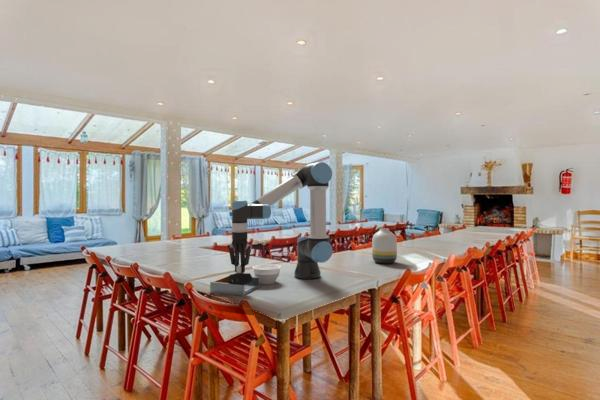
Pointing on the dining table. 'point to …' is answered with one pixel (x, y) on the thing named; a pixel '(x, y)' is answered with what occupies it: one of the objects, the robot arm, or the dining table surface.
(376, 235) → the vase
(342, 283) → the dining table surface
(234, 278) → the rock
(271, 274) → the bowl
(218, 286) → the grey hollow tray
